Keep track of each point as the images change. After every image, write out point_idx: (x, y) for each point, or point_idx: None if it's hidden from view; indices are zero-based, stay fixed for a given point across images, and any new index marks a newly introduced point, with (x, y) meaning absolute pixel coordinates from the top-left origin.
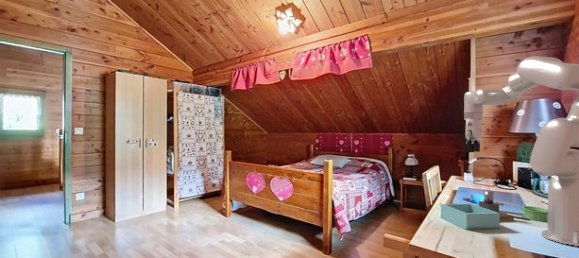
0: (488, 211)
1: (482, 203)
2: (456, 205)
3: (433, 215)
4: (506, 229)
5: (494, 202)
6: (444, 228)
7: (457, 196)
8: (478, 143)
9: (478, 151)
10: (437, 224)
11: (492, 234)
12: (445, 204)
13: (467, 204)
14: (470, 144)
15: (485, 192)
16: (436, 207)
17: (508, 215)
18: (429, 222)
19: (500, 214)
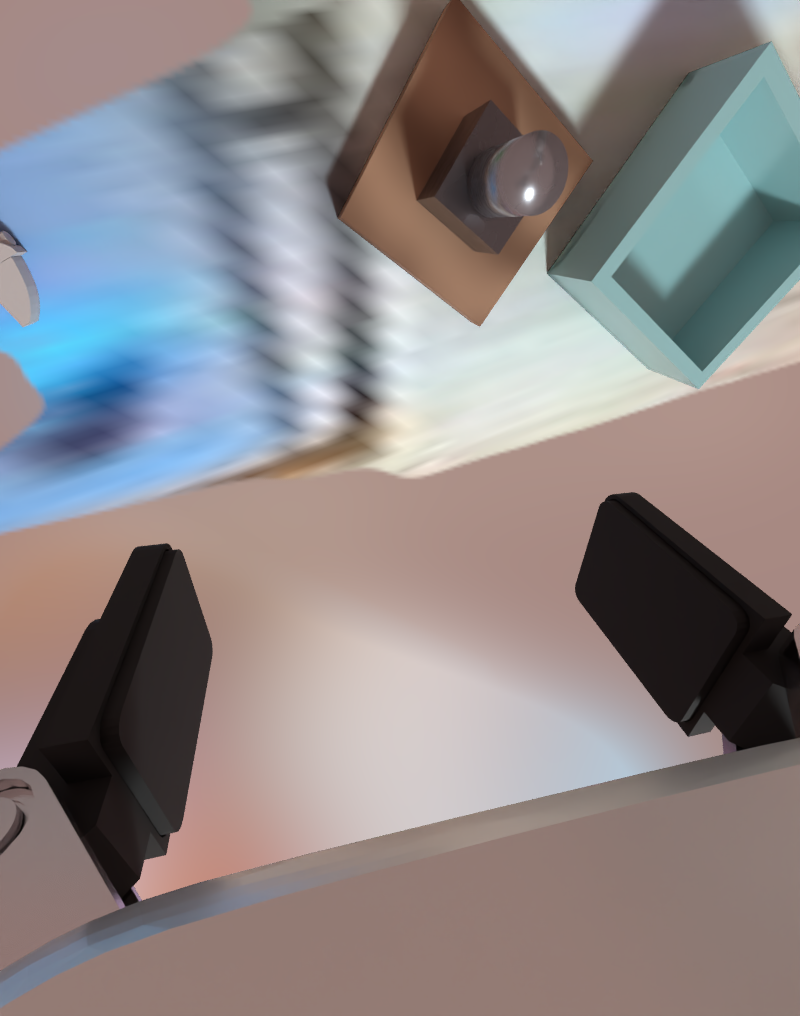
0: (716, 132)
1: (514, 225)
2: (660, 330)
3: (621, 407)
4: (676, 30)
5: (12, 248)
6: (788, 298)
7: (56, 510)
8: (50, 784)
9: (168, 559)
10: (746, 340)
11: (797, 89)
12: (696, 371)
13: (622, 288)
14: (777, 643)
15: (551, 202)
16: (467, 460)
17: (461, 39)
18: (733, 373)
19: (475, 102)
